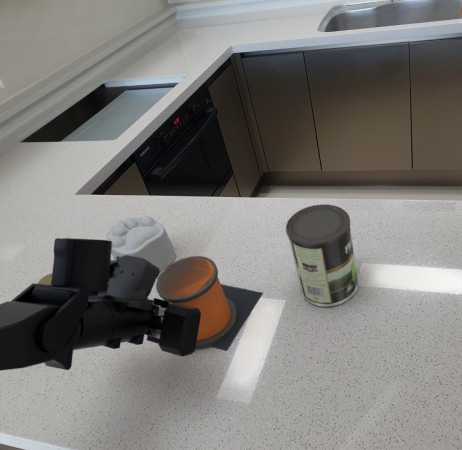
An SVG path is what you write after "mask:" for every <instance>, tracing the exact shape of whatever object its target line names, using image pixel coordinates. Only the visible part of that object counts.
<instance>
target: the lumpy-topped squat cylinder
mask: <svg viewBox="0 0 462 450" xmlns="http://www.w3.org/2000/svg"><path fill="white" fill-rule="evenodd" d="M105 240H108V241H112V250H111V257H112V258H113V259H114V261H116V260H117V259H116V257H117V256H119V257H122V256H125V255H129V256H134V257H139V258H144V259H146V260H147V261H149V262H150V263H152V264H153V265H155V266H157V267H158V268H159V270H160V272H161V271H163V270H165V269H166V268H167V267H168V266H170V265H171V264H173V263H174V262H176V259H177V253H176V250H175V248H174V246H173V244H172V241H171V240H170V237H169V235H168V232H167V230H166V228H165V226H164V225H163V224H162V223H161V222H159V221H157V220H155V219H154V217H152V216H150V215H144V216H135V217H127V218H125V219H122V220H120V221H118V222H116V223H115V224H113V225H112V226H111V227H110V228H109V230H108V231H107V233H106V236H105Z"/></svg>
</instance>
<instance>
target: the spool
mask: <svg viewBox="0 0 462 450" xmlns="http://www.w3.org/2000/svg"><path fill="white" fill-rule="evenodd" d="M221 284H222V283H221V282H220V279H219V269H218V267H217V264H216V263H215V261H213V260H212V259H211V258H209V257H206V256H203V255H192V256H188V257H187V256H186V257H184V258H181V259H178V260H175V261H174V262H173V263H172V264H170V265H169V266H167V267H165V268H164V269H163V270H162V272H160V273H159V276H158V278H156V281H155V289H156V292H157V294H158V296H159V297H160V299H161V300H165V301H168V302H169V303H170V304H182V305H187V306H191V307H195V308H199V310H200V312H201V318H200V324H199V330H198V336H197V342H196V348H195V350H202V349H207V348H210V347H211V346H213V345H215V344H217V343H219V342H221V341H222V340H224V339H225V338H226V337H227V336H228V335H229V334H230V333H231V332H232V331H233V329H234V327H235V326H236V323H237V319H238V313H237V310H236V307H235V305H234V303H233V302H232V301H231V300H230V299H228V298H226V297H225V295H224V292H223V289H222V287H221Z"/></svg>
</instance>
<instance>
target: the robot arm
mask: <svg viewBox="0 0 462 450" xmlns="http://www.w3.org/2000/svg"><path fill="white" fill-rule="evenodd" d="M111 250H112V241H108V240H106V239H94V238H93V239H91V238H69V237H68V238H67V237H65V238H61V237H56V238H55V239H54V242H53V262H52V263H53V264H52V272H51V273H52V280H51V284H37V283H36V282H35V283H31V284H30V285H29V286H28V287H26V288H25V289H24V290H22V291H21V292H20V293H19V294H17V295H16V296H15V297H14V298H12V299H11V300H10V301H5V302H2V303H0V372H1V371H8V370H18V369H25V368H28V367H33V366H37V365H42V364H44V365H45V366H46V367H48V368H49V367H50V368H55V369H60V370H65V371H70V370H71V368H72V364H73V355H74V351H77V350H84V349H90V348H97V347H105V348H109V349H112V350H117V349H120V348H121V344H122V343H129V344H133V345H137V346H140V345H143V344H144V339H145V336H146V341H148V342H151V343H155V344H157V345H158V346H159V348H160V350H161V351H162V352H165V353H168V354H171V355H175V356H179V357H187V356H191V355H192V354H194V353H195V352H196V349H195V348H196V342H197V336H198V330H199V324H200V318H201V312H200V310H199V308H195V307H191V306H187V305H182V304H170V303H169V302H168V301H165V300H163V299H162V298H157V297H153V299H150V298H148V297H149V296H150V295H151V293H152V290H153V287H154V285H155V284H156V281H157V279H158V277H159V276H160V274H161V271H160V270H159V268H158V267H157V266H155V265H153V264H152V263H150V262H149V261H147V260H146V259H144V258H139V257H134V256H129V255H125V256H122V257H119V256H117V257H116V259H117V260H116V261H115V260H112V259H111V258H112V254H111Z"/></svg>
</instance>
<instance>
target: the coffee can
mask: <svg viewBox="0 0 462 450" xmlns="http://www.w3.org/2000/svg"><path fill="white" fill-rule="evenodd" d="M285 233H286V236H287V238H288V241H289V245H290V250H291V253H292V257H293V261H294V265H295V269H296V274H297V278H298V283H299V287H300V293H301V295H302V297H303V299H304V300H305V301H307V302H308V303H309V304H311V305H314V306H316V307H320V308H321V307H322V308H329V307H330V308H331V307H335V306H339V305H342V304H344V303H346V302H348V301H349V300H350V299H351V298H352V297H354V295H355V294H356V292H357V291H358V286H359V280H358V276H357V269H356V261H355V253H354V246H353V238H352V237H353V236H352V230H351V218H350V215H349V213H348V212H347V211H346V210H345V209H343V208H342V207H339V206H337V205H333V204H315V205H310V206H306V207H304V208H302V209H299V210H298V211H297V212H295V213H293V214H292V215H291V216H290V217H289V219H288V220H287V222H286V225H285Z"/></svg>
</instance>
